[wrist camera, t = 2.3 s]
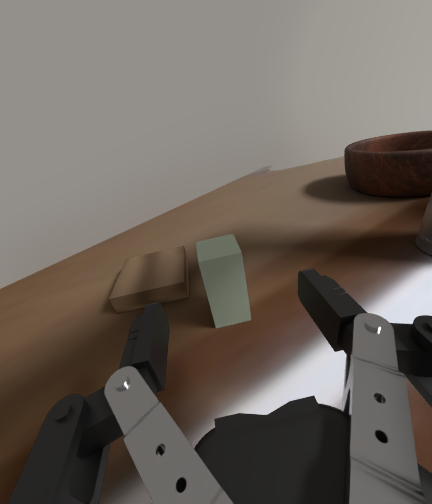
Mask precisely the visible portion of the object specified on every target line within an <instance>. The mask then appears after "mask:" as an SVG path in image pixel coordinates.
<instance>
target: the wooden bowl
mask: <svg viewBox="0 0 432 504" xmlns="http://www.w3.org/2000/svg"><path fill="white" fill-rule="evenodd" d="M345 172H346V176H347V179H348V181H349V183H350V185H351V186H352V187H353V188H354V189H355V190H357V191H359V192H362V193H365V194H370V195H376V196H385V197H416V196H426V195H431V193H432V131H419V132H409V133H401V134H393V135H386V136H380V137H374V138H370V139H365V140H361V141H358V142H355V143H352V144H350V145H348V146H347V147H346V148H345Z"/></svg>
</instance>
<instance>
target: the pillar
mask: <svg viewBox="0 0 432 504" xmlns="http://www.w3.org/2000/svg"><path fill="white" fill-rule="evenodd" d="M196 247H197V256H198V264H199V267H200V271H201V275H202V278H203V282H204V286H205V289H206V293H207V297H208V301H209V304H210V308H211V312H212V315H213V319H214V323H215V326H216V328H220V327H224V326H228V325H232V324H237V323H241V322H245V321H250V320H251V314H250V307H249V300H248V293H247V286H246V279H245V272H244V265H243V257H242V252H241V250H240V248H239V245H238V243H237V241H236V239H235V237H234V235H233V234H230V235H225V236H221V237H216V238H212V239H207V240H203V241H198V242H196Z"/></svg>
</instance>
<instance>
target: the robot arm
mask: <svg viewBox="0 0 432 504" xmlns="http://www.w3.org/2000/svg"><path fill="white" fill-rule="evenodd" d="M415 243H416V245H417V247H418V248H420V249H421V250H422V251H424V252H425V253H427V254H429V255H432V193H431V196H430V199H429V202H428V205H427V208H426V211H425V213H424V216H423V219H422V222H421V225H420V228H419V231H418V234H417V237H416V240H415ZM298 296H299V299H300V301H301V303H302V305H303V306H304V307H305V309H306V310H307V312H308V313H309V315H310V316H311V318H312V319H313V321H314V322H315V323H316V325H317V326H318V328H319V329H320V331H321V332H322V334H323V335H324V337H325V338H326V339H327V341H328V342H329V344H330V345H331V347H332V348H333V350H334V351H335V352H336V351H341V350H344V352H345V353H346V354H347V356H346V365H345V378H344V392H343V400H342V407H341V410H339V409H337V408H335V407H332V406H329V405H324V404H318V403H317V401H316V399H315V397H314V396H310V397H306V398H302V399H298V400H293V401H290V402H288V403H286V404H285V405H283V406H281V407H280V408H278V409H276V410H275V411H273V412H271V413H270V414H268V415H257V414H243V413H238V414H234V415H229V416H225V417H221V418H217V419H215V428H213V429H212V430H210V431H209V432H208V433H207V434H205V435H204V437H203V438H202V439H201V440H200V441H199V442H198V444H197V445H196V446H195V448H193V447H192V446H191V444H190V443H189V441H188V440H187V439H186V437H185V436H184V434H183V433H182V432H181V430H180V429H179V427H178V426H177V425H176V423H175V422H174V420H173V419H172V418H171V416H170V415H169V413H168V412H167V410H166V409H165V408H164V406H163V405H162V404H161V402H160V401H159V400H158V399H157V398H156V397H157V392H158V391H163V390H164V389H165V377H166V364H167V352H168V339H169V324H168V320H167V318H166V315H165V313H164V310H163V308H162V305H161V303H160V302H155V303H150V304H146V305H145V307H144V312H143V315H139V316H137V317H136V319H135V320H134V321H133V323H132V325H131V328H130V332H129V333H130V334H129V335H128V339H127V340H128V341H127V343H126V346H125V350H124V353H123V357H122V360H121V364H120V367H119V370H118V371H116V372H115V373H114V374H113V375H112V376H111V377H110V378H109V380H108V381H107V383H106V386H105V387H103V388H102V389H100V390H98V391H96V392H94V393H92V394H91V395H89V396H87V397H85V398H83V397H82V396H81V395H79V394H71V395H68V396H66V397H64V398H63V399H61V400H60V401H59V402H58V403H57V404H55V405H54V407H53V408H52V409H51V410H50V411H49V413H48V415H47V416H46V418H45V421H44V423H43V425H42V427H41V430H40V432H39V434H38V436H37V439H36V441H35V443H34V446H33V448H32V450H31V452H30V455H29V457H28V459H27V461H26V464H25V466H24V468H23V470H22V473H21V475H20V477H19V479H18V482H17V484H16V486H15V488H14V491H13V493H12V495H11V498H10V500H9V502H8V504H99V500H100V495H101V490H102V485H103V480H104V474H105V469H106V464H107V459H108V454H109V449H110V444H111V442H113V441H115V440H116V439H118V438H119V437H121V436H123V435H124V437H123V439H124V442H125V444H126V446H127V448H128V451H129V453H130V455H131V457H132V459H133V461H134V463H135V465H136V468H137V470H138V472H139V474H140V476H141V478H142V480H143V482H144V484H145V487H146V489H147V491H148V493H149V495H150V497H151V499H152V501H153V503H154V504H432V473H430V472H429V471H428V470H426V469H425V468H423V467H422V466H421V465H419V464H418V463H417V458H416V451H415V443H414V436H413V429H412V422H411V415H410V408H409V401H408V394H407V387H406V380H405V376H406V377H407V378H408V380H409V381H410V382H411V383H412V384H413V386H414V387H415V388H416V389H417V390H418V392H419V393H420V394H421V395H422V396H423V398H424V399H425V400H426V401H427V402H428V404H429V405H430V406H431V407H432V316H427V315H423V316H418V317H416V318H415V320H414V322H413V324H398V323H389V322H388V321H387V320H386V319H384V318H382V317H380V316H378V315H375V314H371V313H367V312H366V311H365V310H364V309H363V308H362V307H361V306H360V305H359V304H358V303H357V302H356V301H355V300H354V299H353V298H352V297H351V296H350V295H349V294H348V293H346V291H345V290H344V289H343V288H341V287H340V286H339V285H338V284H337V283H336V282H335V281H334V280H333V279H331V278H329V277H327V276H325V275H323V276H320V275H319V274H318V273H317V272H316V271H315V270H314V269H308V270H303V271H299V273H298ZM404 375H405V376H404Z"/></svg>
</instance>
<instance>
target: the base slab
mask: <svg viewBox="0 0 432 504" xmlns="http://www.w3.org/2000/svg"><path fill="white" fill-rule="evenodd" d="M188 297H189V275H188V258H187V254H186V251H185V247H184V246H182V247H178V248H173V249H169V250H164V251H160V252H155V253H151V254H146V255H142V256H137V257H133V258H129V259H126V261H125V263H124V266H123V268H122V270H121V272H120V275H119V277H118V279H117V281H116V284H115V286H114V288H113V290H112V292H111V295H110V297H109V301H110V302H111V304H112V306H113V307H114V309H115V311H116V312H117V314H118V313H123V312H127V311H131V310H136V309H140V308H144V307H145V305H146V304H150V303H155V302H160V303H161V304H162V303H166V302H171V301H175V300H180V299H184V298H188Z"/></svg>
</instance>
